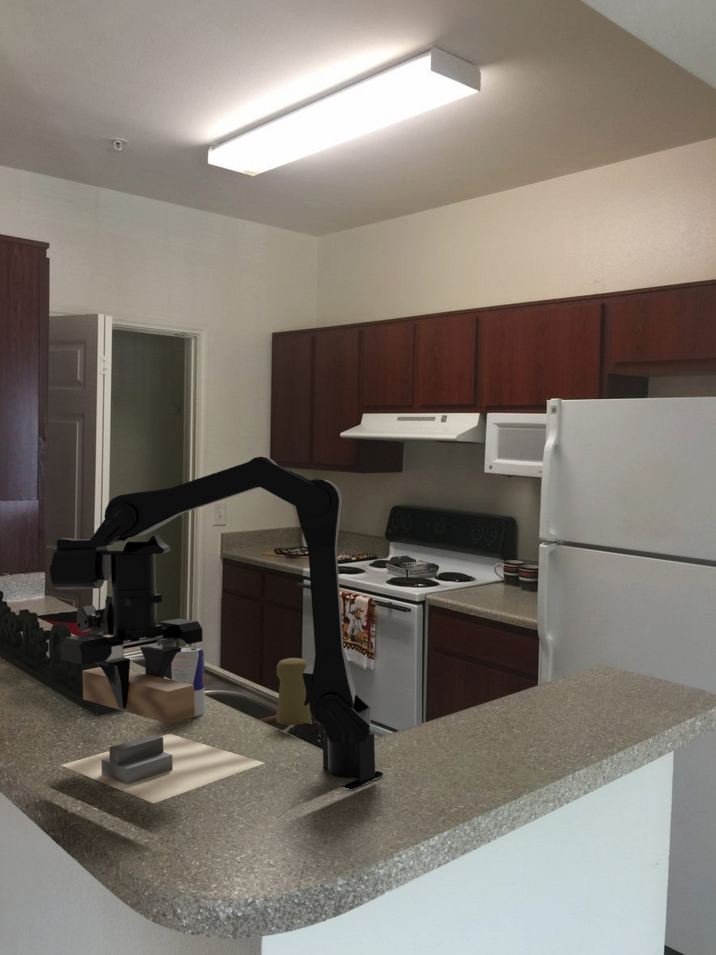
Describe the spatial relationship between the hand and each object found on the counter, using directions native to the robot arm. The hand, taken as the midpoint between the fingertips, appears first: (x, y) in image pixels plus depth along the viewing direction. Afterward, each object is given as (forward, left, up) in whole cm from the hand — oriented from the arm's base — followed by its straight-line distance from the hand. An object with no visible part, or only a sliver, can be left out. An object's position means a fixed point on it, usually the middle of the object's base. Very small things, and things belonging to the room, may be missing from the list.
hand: (136, 704), depth 110 cm
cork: (+1, -30, -10) cm, 32 cm away
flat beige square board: (0, -4, -10) cm, 11 cm away
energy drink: (+18, -22, -10) cm, 30 cm away
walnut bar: (0, 0, 0) cm, 0 cm away
